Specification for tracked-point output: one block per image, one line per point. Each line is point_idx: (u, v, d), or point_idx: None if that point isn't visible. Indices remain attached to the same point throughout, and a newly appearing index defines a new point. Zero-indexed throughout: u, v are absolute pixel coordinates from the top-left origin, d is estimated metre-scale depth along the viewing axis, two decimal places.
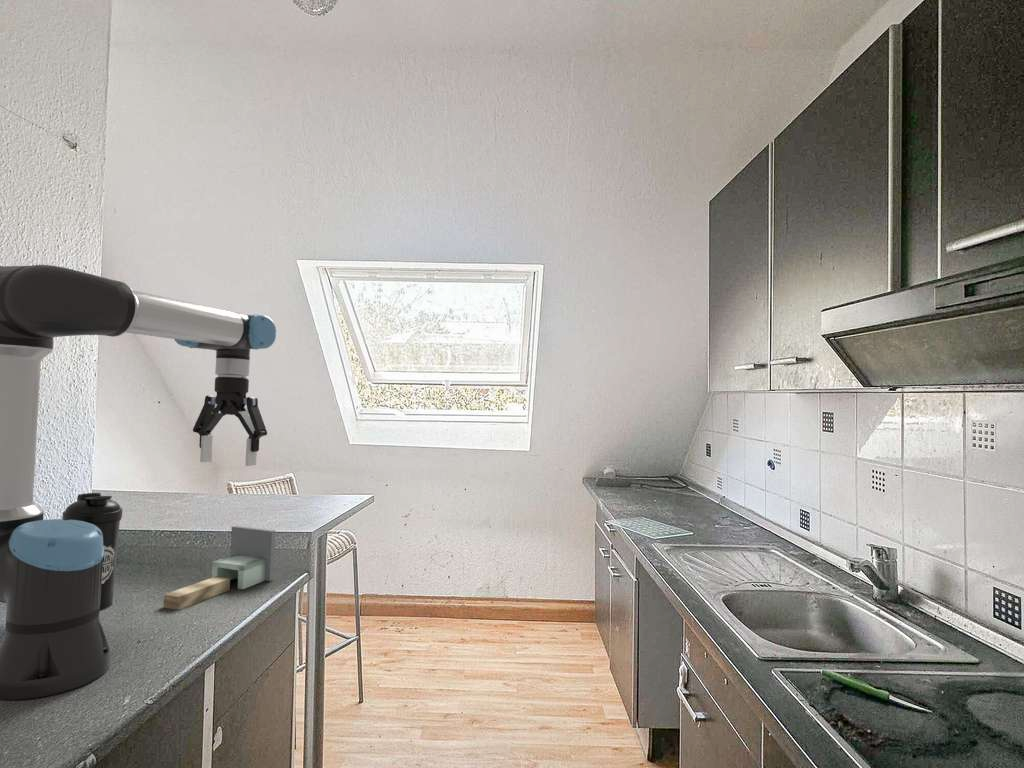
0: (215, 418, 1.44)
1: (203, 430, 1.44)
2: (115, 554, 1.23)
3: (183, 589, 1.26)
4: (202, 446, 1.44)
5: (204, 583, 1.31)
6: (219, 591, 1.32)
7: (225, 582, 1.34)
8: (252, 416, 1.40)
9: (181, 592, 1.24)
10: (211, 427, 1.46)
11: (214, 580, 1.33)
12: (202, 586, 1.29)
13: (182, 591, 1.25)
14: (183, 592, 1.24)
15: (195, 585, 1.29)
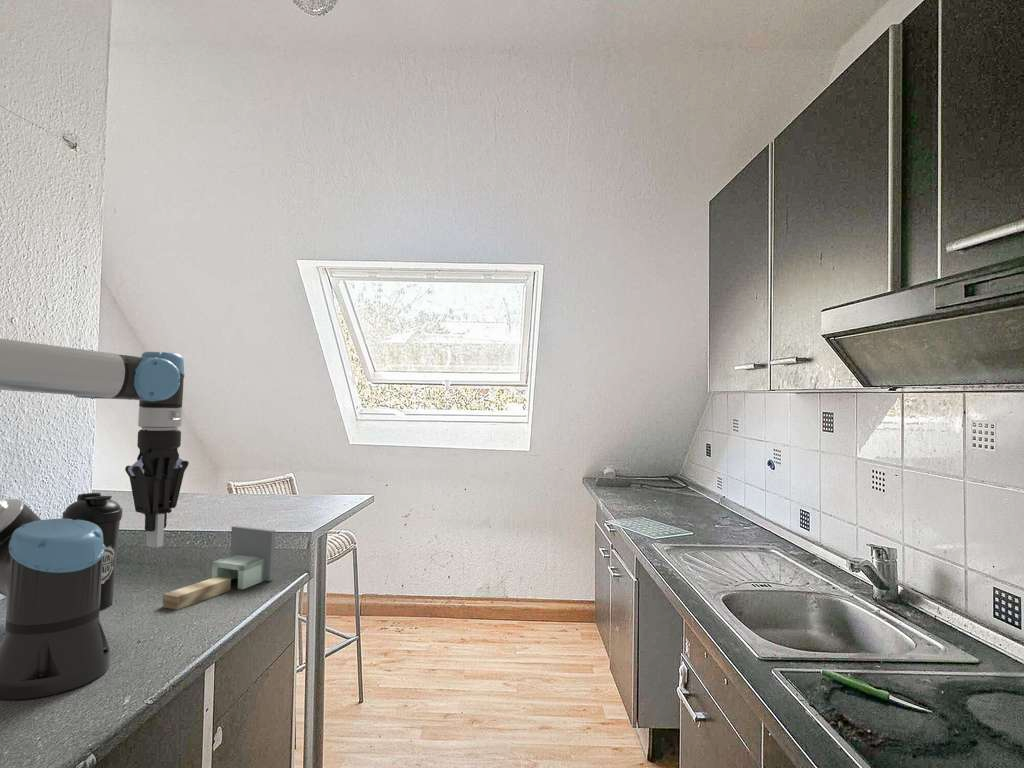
0: None
1: None
2: (115, 554, 1.23)
3: (183, 589, 1.26)
4: None
5: (204, 583, 1.30)
6: (219, 591, 1.32)
7: (226, 582, 1.34)
8: None
9: (180, 592, 1.25)
10: (160, 498, 1.19)
11: (214, 580, 1.33)
12: (202, 586, 1.29)
13: (182, 591, 1.25)
14: (182, 592, 1.24)
15: (195, 585, 1.29)
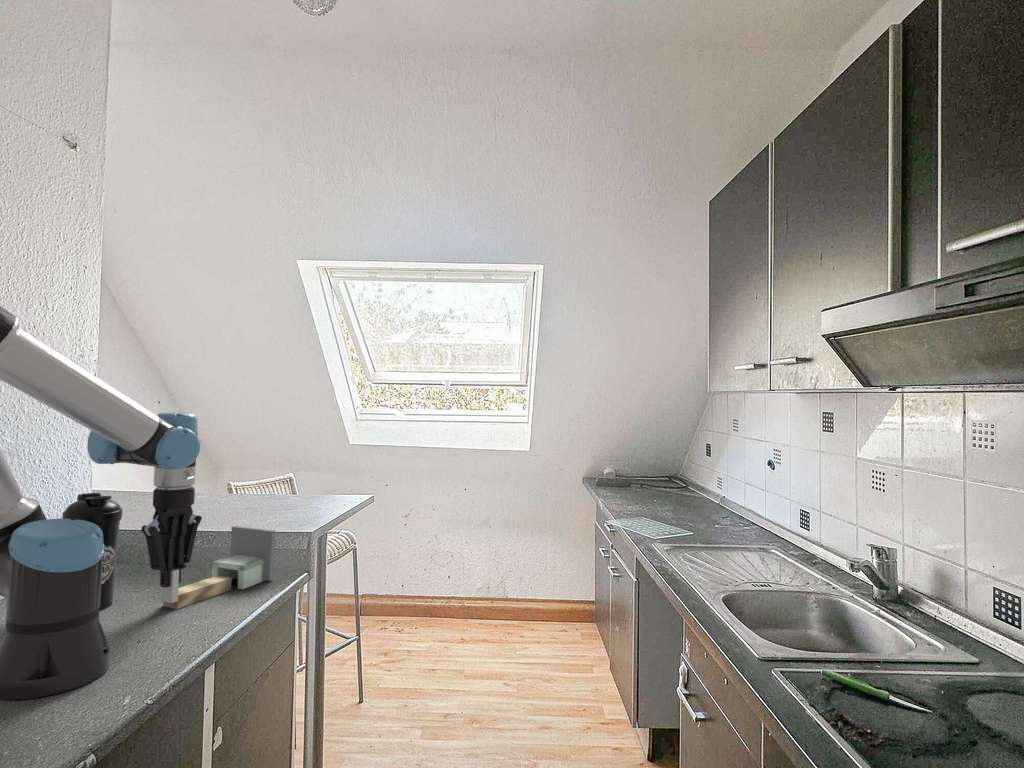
0: None
1: None
2: (115, 554, 1.23)
3: (183, 588, 1.27)
4: None
5: (205, 582, 1.31)
6: (219, 590, 1.32)
7: (226, 581, 1.34)
8: None
9: (180, 591, 1.25)
10: (175, 554, 1.23)
11: (215, 579, 1.34)
12: (203, 585, 1.29)
13: (182, 589, 1.26)
14: (182, 591, 1.25)
15: (196, 584, 1.30)
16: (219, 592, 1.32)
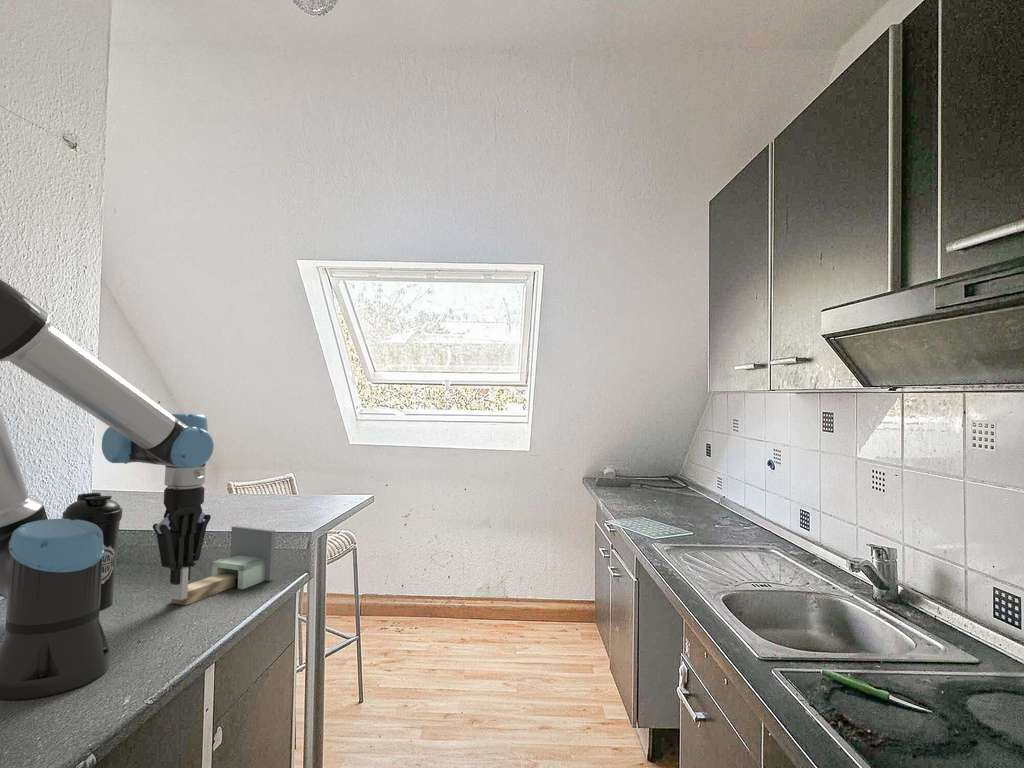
0: None
1: None
2: (115, 554, 1.23)
3: (190, 585, 1.29)
4: None
5: (210, 580, 1.33)
6: (225, 587, 1.35)
7: (231, 578, 1.37)
8: None
9: (188, 588, 1.27)
10: (185, 552, 1.25)
11: (219, 576, 1.36)
12: (209, 582, 1.31)
13: (189, 587, 1.28)
14: (190, 588, 1.27)
15: (202, 581, 1.32)
16: (224, 589, 1.35)
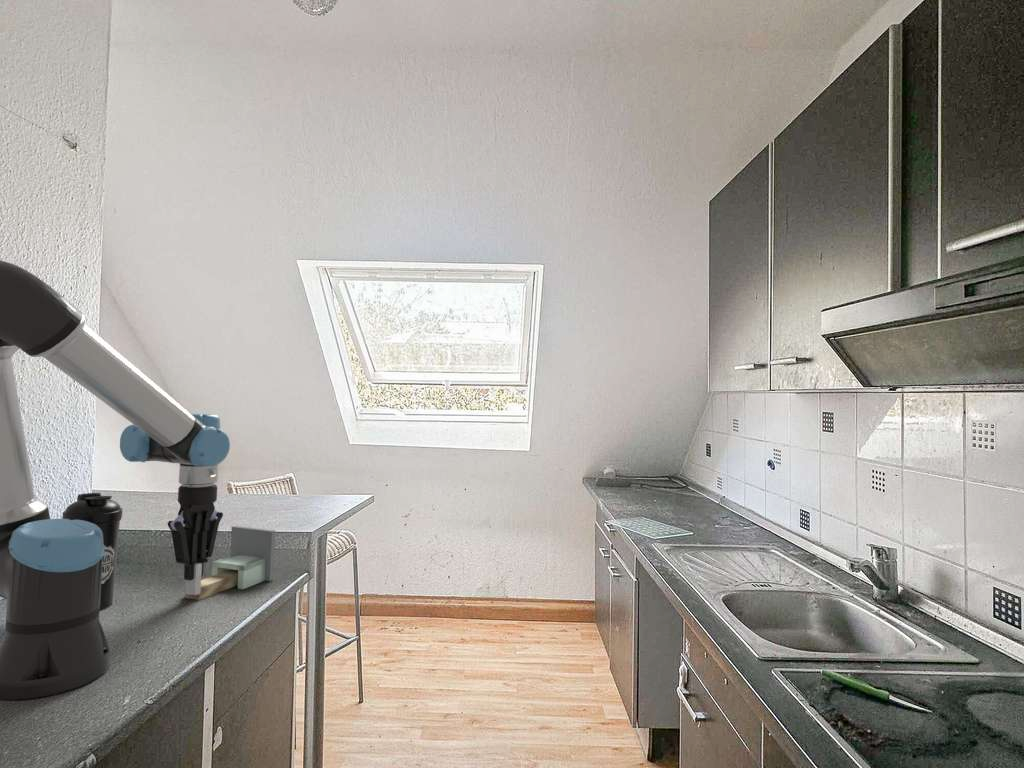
0: None
1: None
2: (115, 554, 1.23)
3: (203, 581, 1.33)
4: None
5: (222, 575, 1.37)
6: (236, 583, 1.38)
7: None
8: None
9: (201, 583, 1.31)
10: (198, 549, 1.28)
11: (231, 572, 1.40)
12: (221, 578, 1.35)
13: (202, 582, 1.31)
14: (203, 583, 1.31)
15: (214, 577, 1.35)
16: (235, 585, 1.38)
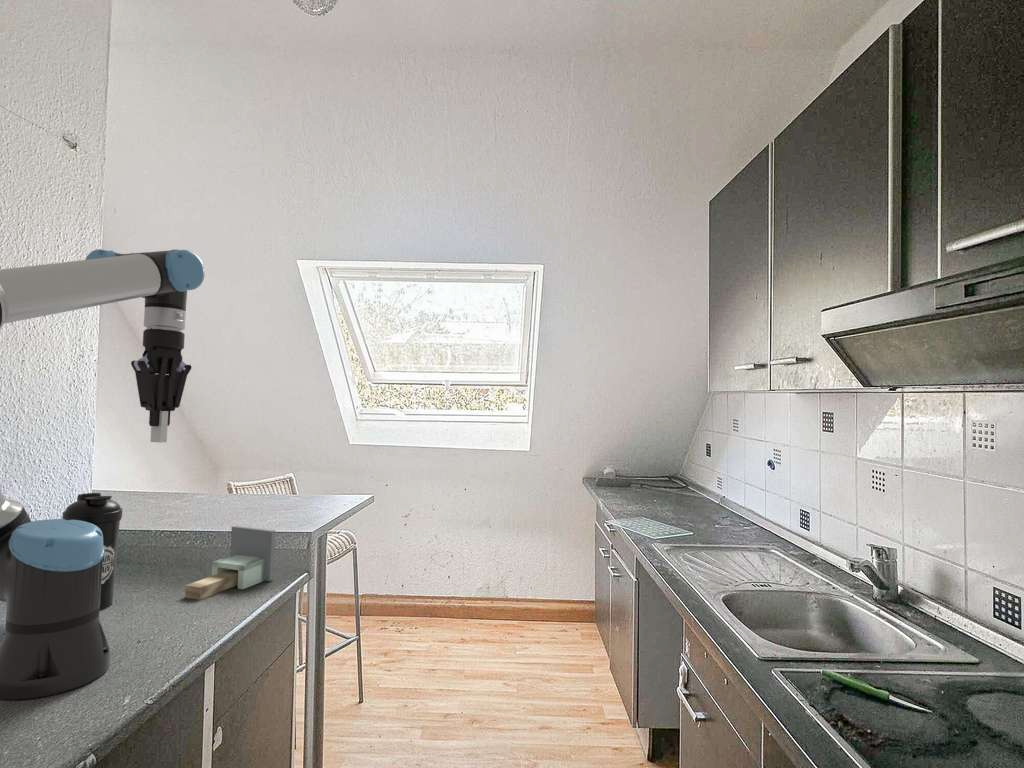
0: None
1: None
2: (115, 554, 1.23)
3: (203, 580, 1.33)
4: None
5: (222, 575, 1.37)
6: (236, 582, 1.38)
7: None
8: None
9: (201, 583, 1.31)
10: (164, 397, 1.24)
11: (231, 572, 1.40)
12: (221, 578, 1.35)
13: (203, 582, 1.32)
14: (203, 583, 1.31)
15: (214, 577, 1.36)
16: (236, 584, 1.38)
